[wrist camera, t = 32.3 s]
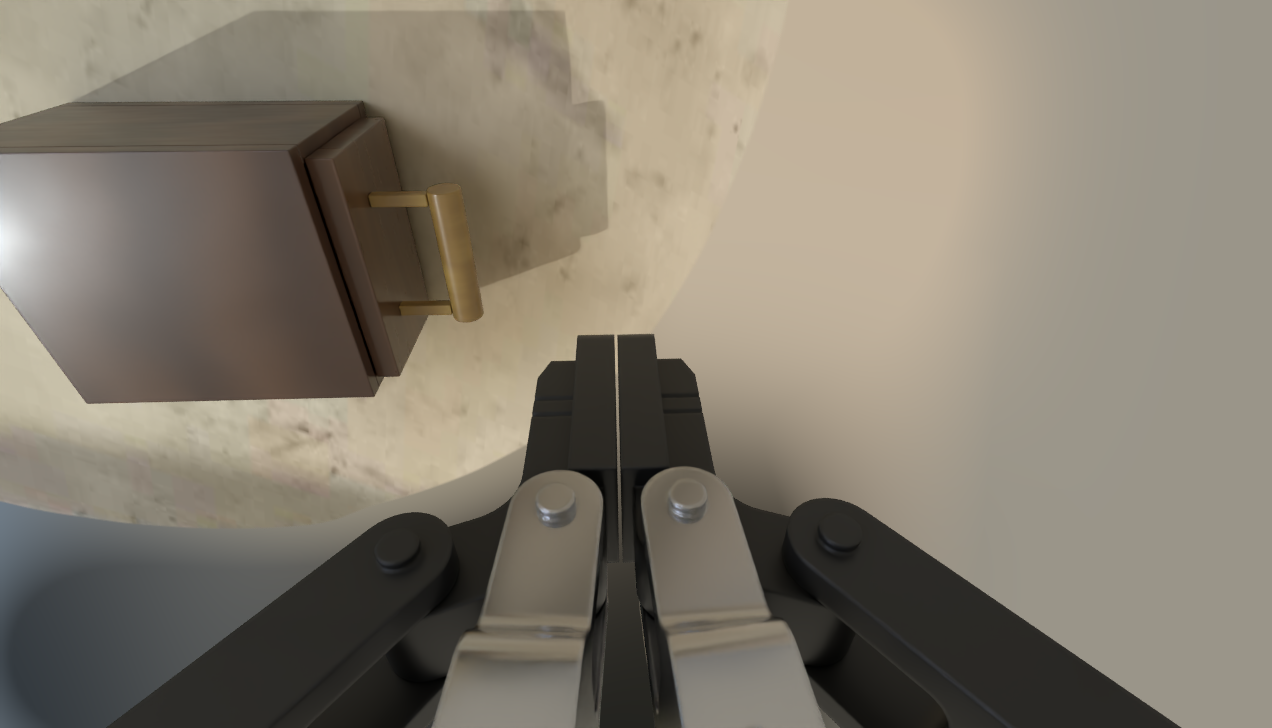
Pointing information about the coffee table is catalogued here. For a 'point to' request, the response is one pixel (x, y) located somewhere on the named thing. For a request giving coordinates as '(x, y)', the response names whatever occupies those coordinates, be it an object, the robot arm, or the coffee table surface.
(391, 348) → the drawer
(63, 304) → the cabinet
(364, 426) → the coffee table surface
